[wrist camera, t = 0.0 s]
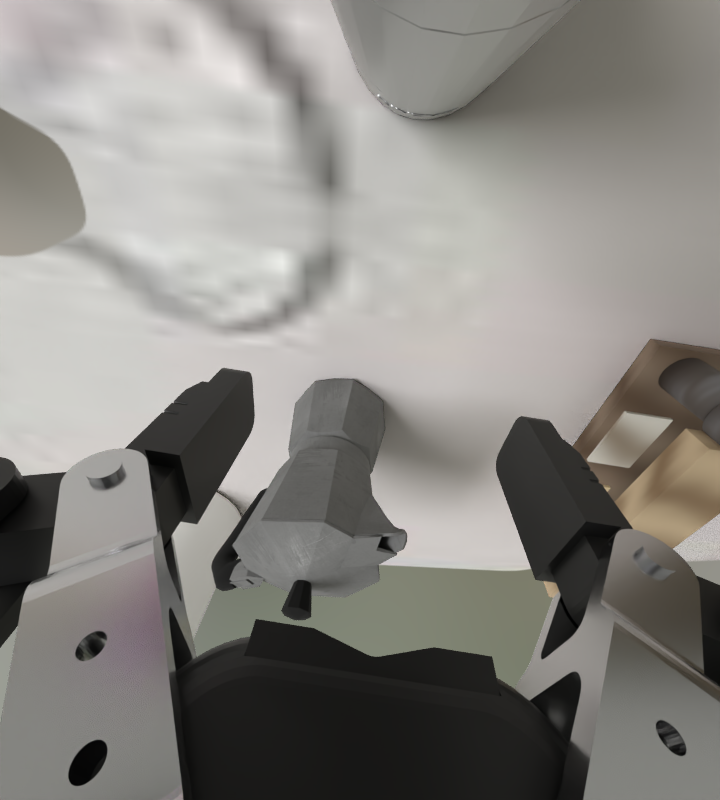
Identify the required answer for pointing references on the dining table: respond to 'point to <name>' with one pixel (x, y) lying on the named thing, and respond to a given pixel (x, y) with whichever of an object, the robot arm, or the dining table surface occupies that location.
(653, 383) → the label board
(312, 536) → the coffeepot
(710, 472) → the swing arm
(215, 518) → the white jar
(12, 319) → the dining table surface
